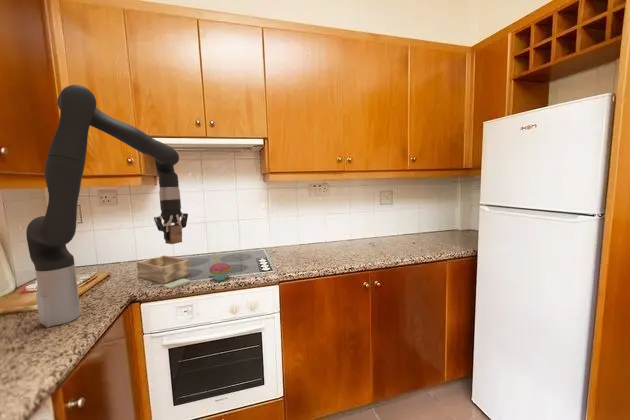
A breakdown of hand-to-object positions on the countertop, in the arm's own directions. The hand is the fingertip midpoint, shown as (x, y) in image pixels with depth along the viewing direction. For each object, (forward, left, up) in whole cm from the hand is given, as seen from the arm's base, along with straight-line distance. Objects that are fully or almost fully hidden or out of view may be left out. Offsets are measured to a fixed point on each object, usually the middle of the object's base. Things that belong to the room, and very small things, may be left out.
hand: (173, 239), depth 120 cm
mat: (0, 0, -19) cm, 19 cm away
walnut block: (0, 0, -1) cm, 1 cm away
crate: (+4, +15, -19) cm, 25 cm away
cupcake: (+13, -12, -19) cm, 26 cm away
